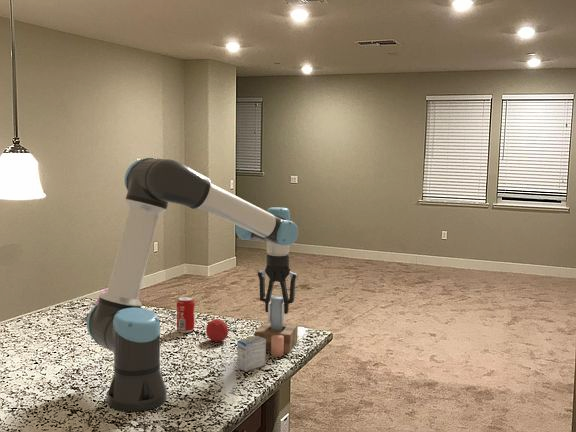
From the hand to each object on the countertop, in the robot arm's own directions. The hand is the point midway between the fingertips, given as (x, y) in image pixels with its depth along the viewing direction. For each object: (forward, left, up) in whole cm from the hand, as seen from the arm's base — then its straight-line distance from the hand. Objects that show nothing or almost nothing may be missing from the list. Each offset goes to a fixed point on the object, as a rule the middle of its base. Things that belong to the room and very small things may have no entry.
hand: (276, 322), depth 211 cm
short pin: (-9, -3, -8) cm, 12 cm away
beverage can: (+7, +35, -8) cm, 37 cm away
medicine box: (-22, +2, -8) cm, 24 cm away
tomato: (-1, +20, -8) cm, 22 cm away
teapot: (+19, +70, -8) cm, 74 cm away
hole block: (0, 0, -8) cm, 8 cm away
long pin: (0, 0, -6) cm, 6 cm away
